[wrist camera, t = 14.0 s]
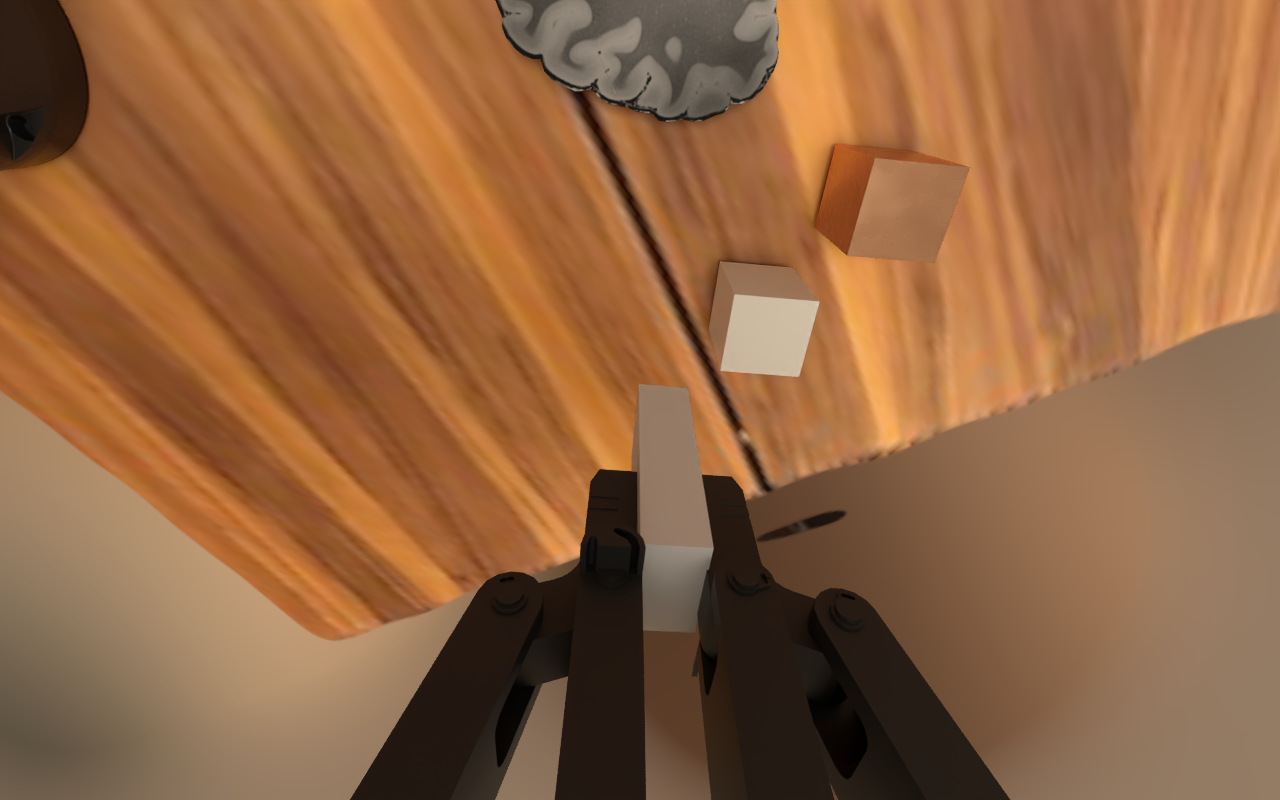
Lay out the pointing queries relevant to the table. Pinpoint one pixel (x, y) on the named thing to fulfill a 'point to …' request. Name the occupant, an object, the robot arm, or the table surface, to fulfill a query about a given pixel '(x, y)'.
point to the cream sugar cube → (761, 319)
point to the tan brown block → (889, 202)
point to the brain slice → (651, 50)
